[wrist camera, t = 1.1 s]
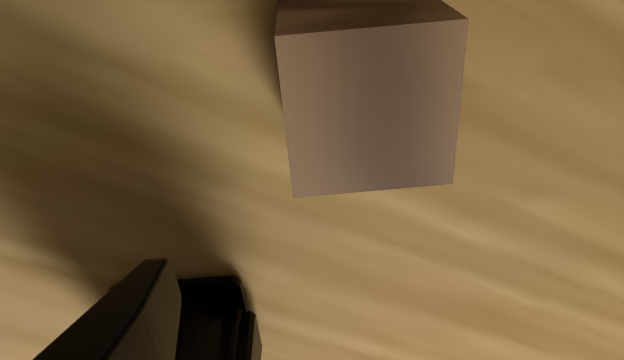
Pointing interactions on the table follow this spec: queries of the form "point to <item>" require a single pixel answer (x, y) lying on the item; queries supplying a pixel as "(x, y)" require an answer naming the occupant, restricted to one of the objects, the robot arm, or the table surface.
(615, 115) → the table surface
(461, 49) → the walnut cube
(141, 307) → the robot arm
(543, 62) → the table surface
